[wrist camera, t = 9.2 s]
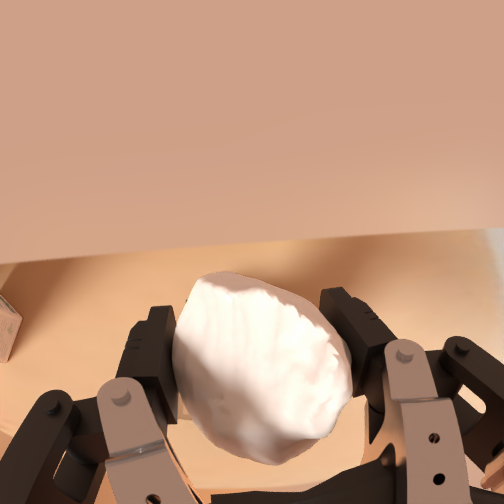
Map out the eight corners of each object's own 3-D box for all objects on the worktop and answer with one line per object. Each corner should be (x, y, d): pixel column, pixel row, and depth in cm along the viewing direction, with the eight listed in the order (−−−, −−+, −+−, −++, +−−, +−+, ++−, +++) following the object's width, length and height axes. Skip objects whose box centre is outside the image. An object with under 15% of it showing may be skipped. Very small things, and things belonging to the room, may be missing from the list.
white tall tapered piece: (57, 270, 4) (330, 153, 5) (177, 343, 15) (264, 300, 16) (226, 571, 2) (479, 398, 3) (228, 434, 13) (314, 387, 14)
